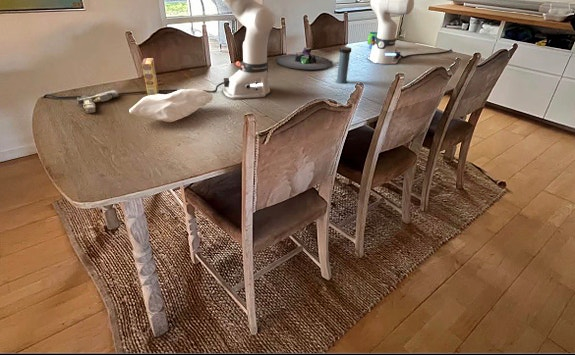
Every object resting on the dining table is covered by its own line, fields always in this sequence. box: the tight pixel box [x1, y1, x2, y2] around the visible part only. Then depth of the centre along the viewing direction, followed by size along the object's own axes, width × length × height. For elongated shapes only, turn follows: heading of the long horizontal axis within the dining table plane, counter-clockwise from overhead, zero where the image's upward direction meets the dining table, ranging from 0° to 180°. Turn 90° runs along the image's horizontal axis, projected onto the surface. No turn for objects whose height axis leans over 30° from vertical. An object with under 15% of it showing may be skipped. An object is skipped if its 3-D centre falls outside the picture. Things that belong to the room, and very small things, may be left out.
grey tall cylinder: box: [336, 51, 351, 84], centre depth 189 cm, size 5×5×17 cm
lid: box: [338, 46, 352, 54], centre depth 184 cm, size 6×6×2 cm
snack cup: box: [366, 31, 378, 50], centre depth 258 cm, size 16×10×10 cm
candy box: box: [141, 57, 160, 96], centre depth 163 cm, size 9×4×15 cm, turn 13°
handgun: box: [76, 89, 120, 114], centre depth 155 cm, size 3×18×15 cm
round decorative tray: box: [275, 46, 334, 71], centre depth 220 cm, size 35×35×9 cm
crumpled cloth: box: [129, 88, 214, 123], centre depth 147 cm, size 24×35×9 cm
